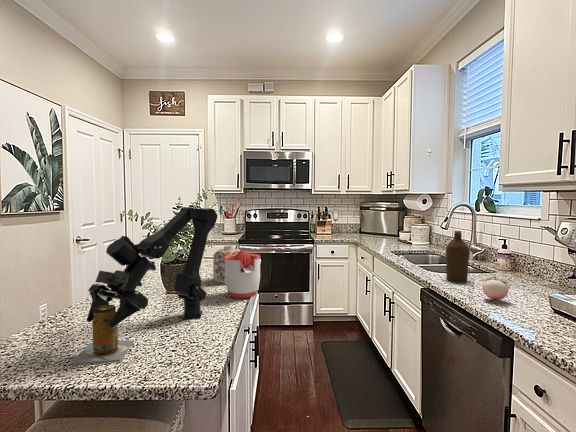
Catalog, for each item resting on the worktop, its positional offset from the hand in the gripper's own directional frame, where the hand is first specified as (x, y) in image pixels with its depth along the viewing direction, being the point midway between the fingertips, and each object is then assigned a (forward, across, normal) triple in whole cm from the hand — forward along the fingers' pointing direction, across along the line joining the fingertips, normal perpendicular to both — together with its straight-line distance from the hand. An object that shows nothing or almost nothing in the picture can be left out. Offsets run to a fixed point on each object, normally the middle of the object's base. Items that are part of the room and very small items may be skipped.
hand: (98, 324), depth 90 cm
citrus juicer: (-38, +4, +51) cm, 64 cm away
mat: (+5, 0, +7) cm, 8 cm away
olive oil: (-88, +86, +100) cm, 158 cm away
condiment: (+5, +1, +7) cm, 8 cm away
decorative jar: (-51, -17, +64) cm, 83 cm away
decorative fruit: (-65, +100, +77) cm, 142 cm away
